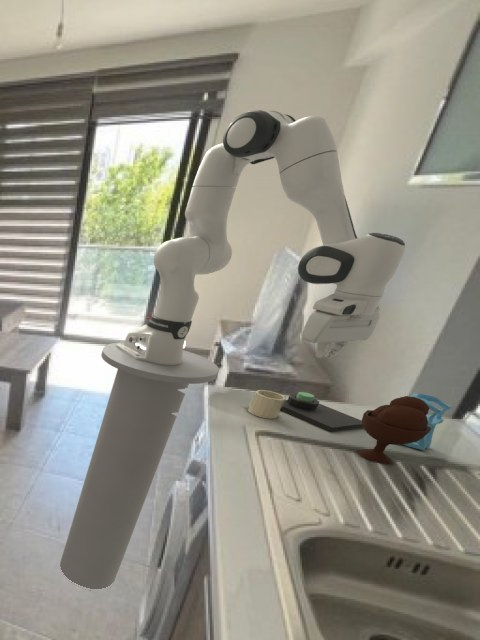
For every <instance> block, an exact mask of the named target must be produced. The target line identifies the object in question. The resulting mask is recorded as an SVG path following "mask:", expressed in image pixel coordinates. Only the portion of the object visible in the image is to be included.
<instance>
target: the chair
mask: <svg viewBox="0 0 480 640" xmlns="http://www.w3.org/2000/svg"><path fill="white" fill-rule="evenodd" d="M410 397H416V398H420V399H421V400H423V401H425V403H426V404H427V405H428V407H429V410H430V411H432V412H433V413H432V414H427V415H426V416H427V420H428V425H427V426H428V427H430V428H432V429H431V430H430V431H429V433H428V434H427V435H426V436H425V437H423V438H422V439H420V440H419V441H417V442H413V443H409V444H402V445H403V446H406V447H410V448H413V449H416V450H419V451H425V450H426V449H430V447H431V444H432V439H433V436H434V432H435V428H436V426H437V425H440V424H442V423H443V422H444V421H445V419H444V418H442V417H443V415H444V414H445V413H446V412H447V411H448V410H450V409H452V408H453V406H451V405H449V404H447V403H445V402H444V401H443V400H441V399H440V398H438V397H436V396H434V395H428V394H423V393H413V394H412V395H410ZM433 403H435V404H437V405H438V406H440V407H441V408H442V409H440V408H438V407H437V406H436V405H435V404H433Z"/></svg>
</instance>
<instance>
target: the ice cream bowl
mask: <svg viewBox="0 0 480 640" xmlns="http://www.w3.org/2000/svg"><path fill="white" fill-rule="evenodd" d="M410 396H411V395H410ZM410 396H408V395H404V396H400V397H395V398H394V399H392V400H390V402H389V404H384V405H380V406H378V407H377V408H375V409H371V410H369V409H367V410H366V411H364V413H363V415H362V418H361V420H362V426H363V429H364V431H365V432H366V433H367V434H368V435H369V436H370V437H371V438H372V439H374V440H375V441H376V443H375V446H374V447H373V448H369V449H368V448H367V449H361V450H360V451H359V452H358V455H359V456H360V457H361V458H363V459H366V460H368V461H370V462H374V463H378V464H387V465H388V464H389V463H390V462H391V458H390V457H389V456H388V455H387V454H386V453H385V452H384V451H385V450H386V448H387V447H388V446H390V445H393V446H394V445H397V446H399V445H400V446H401V445H402V444H409V443H413V442H417V441H419V440H420V439H422V438H423V437H425V436H426V435H427V434H428V433H429V431H430V430H431V429H432V428H430V427H428V426H427V425H428V420H427V416H426V415H429V410H430V409H429V407H428V405H427V404H426V403H425V401H423V400H421V399H420V398H416V397H410Z"/></svg>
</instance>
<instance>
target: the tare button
mask: <svg viewBox="0 0 480 640" xmlns="http://www.w3.org/2000/svg"><path fill="white" fill-rule="evenodd" d="M296 394H297V396H296V399H299V400H301V401H305V402H312V401H313V399H315V395H314V394H312V393H309V392H306V391H298V393H296Z"/></svg>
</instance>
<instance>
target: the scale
mask: <svg viewBox="0 0 480 640" xmlns="http://www.w3.org/2000/svg"><path fill="white" fill-rule="evenodd" d="M297 394H298V393H292V394H291V393H290V394H289V396H288V398H287V399H285V401H284V403H283V405H282V408H281V410H280V411H283V412H285V414H286V413H287V414H289V415H291V416H293V417H295V418H298V419H300V420H302V421H304V422H307V423H309V424H312V425H314V426H316V427H318V428H321V429H322V430H325V431H327V432H329V433H330V432H338V431H347V430H355V429H362V428H363V429H364V427H363V426H362V419H359V418H356V417H355V416H352V415H349V414H347V413H345V412H342V411H339V410H336V409H334V408H331V407H329V406H326V405H324V404H321V403H320V401H319V400H317V399H316V398H314V399H313V401H312V402H305V401H301V400H299V399H296V396H297Z"/></svg>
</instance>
